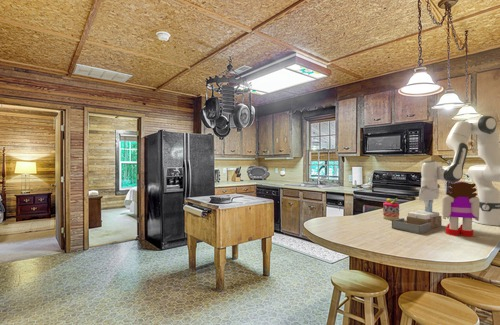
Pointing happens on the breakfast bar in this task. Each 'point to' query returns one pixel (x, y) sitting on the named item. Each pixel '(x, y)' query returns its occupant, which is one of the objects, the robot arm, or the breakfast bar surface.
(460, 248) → the breakfast bar surface
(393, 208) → the cake
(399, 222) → the tray
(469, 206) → the toy
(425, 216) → the tile
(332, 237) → the breakfast bar surface
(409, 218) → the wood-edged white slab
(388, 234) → the breakfast bar surface
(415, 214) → the tile
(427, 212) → the blue-knobbed white block
